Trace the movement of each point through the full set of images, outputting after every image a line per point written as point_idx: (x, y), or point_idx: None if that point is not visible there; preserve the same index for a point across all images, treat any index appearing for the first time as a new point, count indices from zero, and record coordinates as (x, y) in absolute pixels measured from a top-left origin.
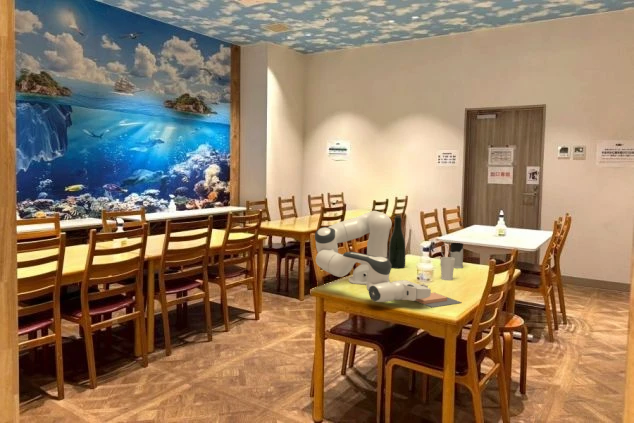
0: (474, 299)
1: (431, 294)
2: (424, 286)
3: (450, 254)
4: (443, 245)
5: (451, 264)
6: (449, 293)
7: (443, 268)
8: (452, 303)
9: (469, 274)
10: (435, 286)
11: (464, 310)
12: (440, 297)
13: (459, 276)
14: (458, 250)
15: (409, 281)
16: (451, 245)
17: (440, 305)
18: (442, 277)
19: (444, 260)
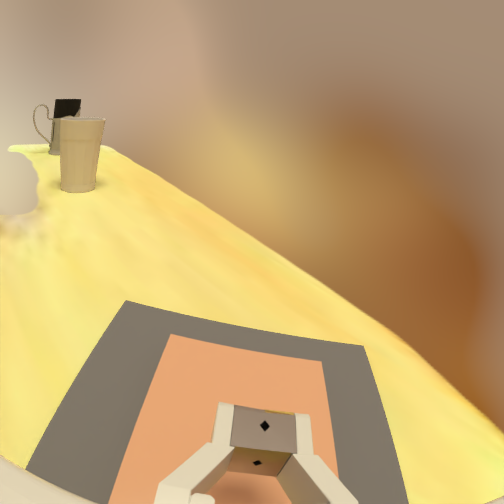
0: (321, 285)
1: (200, 381)
2: (325, 468)
3: (53, 124)
4: (39, 105)
5: (98, 136)
6: (187, 275)
7: (72, 153)
8: (372, 390)
9: (110, 164)
10: (76, 235)
11: (474, 410)
12: (306, 393)
13: (97, 173)
14: (72, 112)
15: (2, 474)
16: (57, 103)
17: (399, 476)
18: (67, 185)
19: (78, 124)
